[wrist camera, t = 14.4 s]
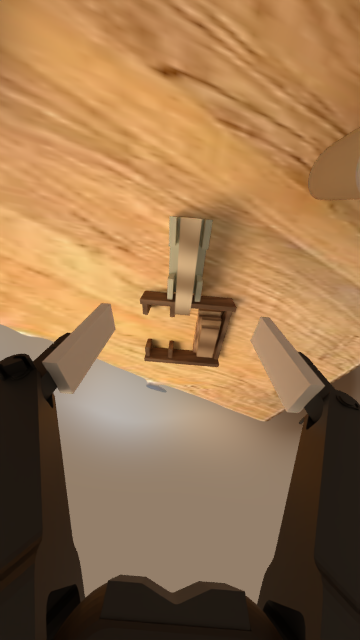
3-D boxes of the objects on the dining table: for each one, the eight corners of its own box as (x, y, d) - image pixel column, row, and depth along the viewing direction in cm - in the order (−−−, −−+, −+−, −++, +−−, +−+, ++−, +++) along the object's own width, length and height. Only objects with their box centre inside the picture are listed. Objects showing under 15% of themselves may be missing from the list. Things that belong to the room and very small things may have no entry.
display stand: (171, 216, 32) (168, 216, 27) (210, 219, 32) (214, 220, 27) (168, 289, 41) (166, 298, 36) (199, 292, 41) (200, 301, 36)
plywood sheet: (183, 217, 31) (180, 217, 22) (198, 218, 31) (202, 218, 22) (177, 292, 40) (174, 314, 31) (189, 293, 40) (189, 315, 31)
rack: (144, 291, 41) (138, 301, 36) (231, 298, 41) (238, 310, 36) (148, 349, 53) (143, 364, 47) (215, 355, 53) (218, 370, 48)
